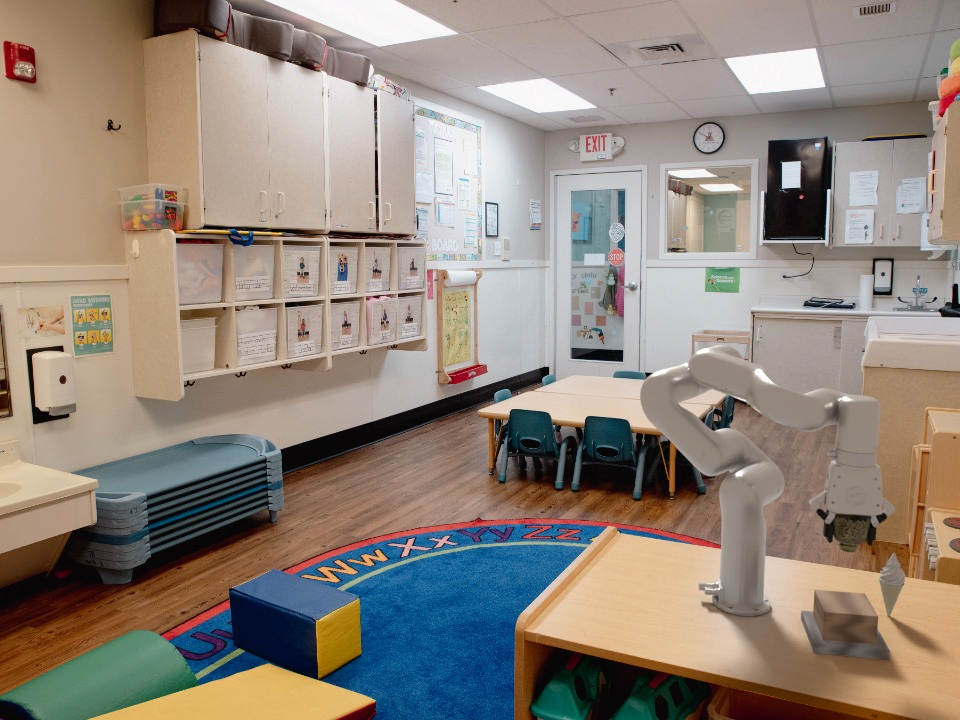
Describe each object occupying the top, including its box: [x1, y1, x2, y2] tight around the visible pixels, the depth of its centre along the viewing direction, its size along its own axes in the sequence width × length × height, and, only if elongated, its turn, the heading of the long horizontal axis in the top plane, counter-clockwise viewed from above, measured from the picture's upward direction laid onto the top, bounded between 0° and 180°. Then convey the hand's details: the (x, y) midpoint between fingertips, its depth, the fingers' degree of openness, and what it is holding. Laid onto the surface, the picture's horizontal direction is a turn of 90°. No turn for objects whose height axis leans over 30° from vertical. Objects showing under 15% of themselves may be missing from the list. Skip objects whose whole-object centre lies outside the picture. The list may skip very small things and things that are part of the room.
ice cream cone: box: [877, 551, 906, 617], centre depth 170 cm, size 5×5×15 cm
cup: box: [832, 514, 872, 553], centre depth 158 cm, size 8×7×8 cm
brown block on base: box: [800, 589, 891, 661], centre depth 162 cm, size 14×14×8 cm
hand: (848, 541), depth 159 cm, fingers closed on cup, 6 cm apart
